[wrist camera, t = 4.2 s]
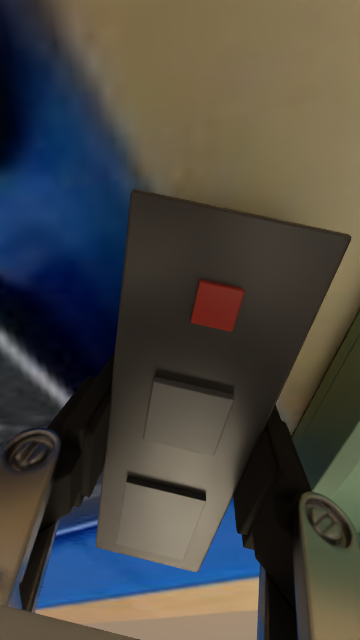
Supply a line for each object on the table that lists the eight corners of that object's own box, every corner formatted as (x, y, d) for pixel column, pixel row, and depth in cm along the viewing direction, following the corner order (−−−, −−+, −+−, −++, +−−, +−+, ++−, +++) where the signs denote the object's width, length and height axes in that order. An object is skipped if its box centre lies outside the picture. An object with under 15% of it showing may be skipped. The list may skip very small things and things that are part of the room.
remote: (159, 200, 8) (125, 186, 5) (298, 230, 8) (364, 236, 4) (119, 475, 13) (91, 557, 10) (200, 495, 13) (197, 583, 10)
